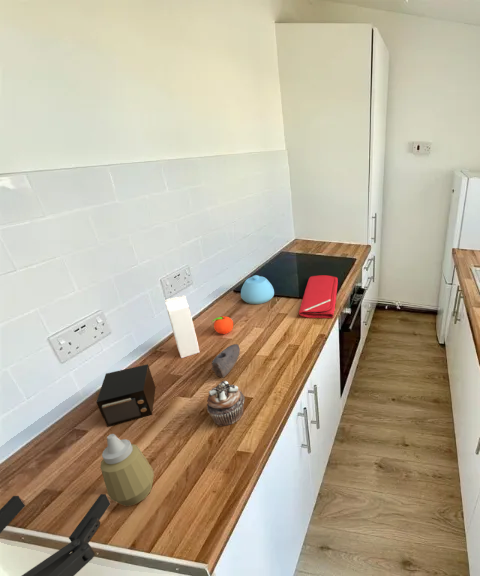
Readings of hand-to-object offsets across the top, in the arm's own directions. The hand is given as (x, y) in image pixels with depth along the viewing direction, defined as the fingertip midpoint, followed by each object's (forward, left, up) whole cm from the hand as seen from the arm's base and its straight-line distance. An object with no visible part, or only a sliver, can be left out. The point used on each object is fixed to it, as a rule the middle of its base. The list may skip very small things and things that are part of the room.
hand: (63, 499), depth 54 cm
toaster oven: (+1, +40, -17) cm, 44 cm away
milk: (+15, +62, -17) cm, 66 cm away
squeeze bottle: (+5, +10, -17) cm, 20 cm away
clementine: (+27, +70, -17) cm, 77 cm away
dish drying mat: (+72, +85, -17) cm, 113 cm away
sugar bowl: (+44, +95, -17) cm, 106 cm away
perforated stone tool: (+27, +47, -17) cm, 57 cm away
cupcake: (+25, +25, -17) cm, 40 cm away
